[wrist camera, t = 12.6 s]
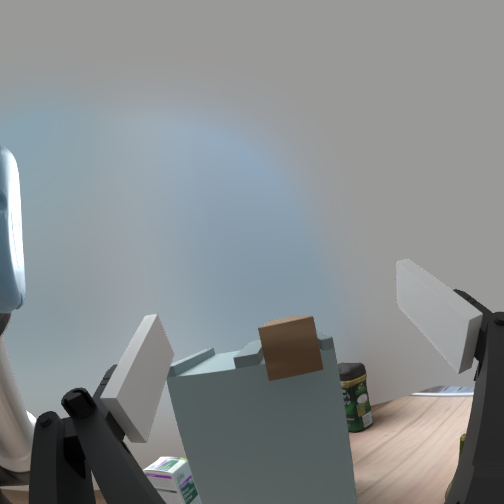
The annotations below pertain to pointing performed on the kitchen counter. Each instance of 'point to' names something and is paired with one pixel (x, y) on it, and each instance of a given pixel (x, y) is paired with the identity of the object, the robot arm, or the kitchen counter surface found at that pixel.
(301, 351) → the walnut slat
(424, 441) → the kitchen counter surface
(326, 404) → the grey-blue storage bin
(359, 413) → the coffee jar
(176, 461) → the syrup box
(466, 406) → the kitchen counter surface
